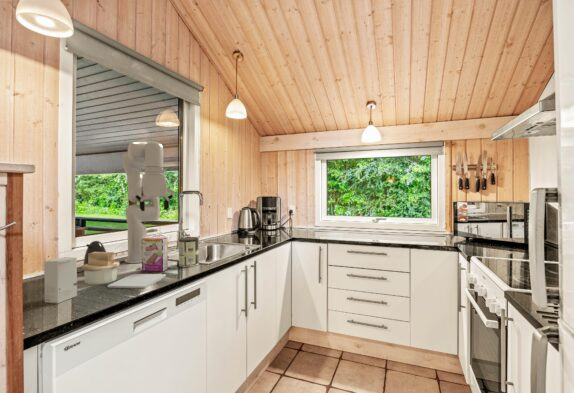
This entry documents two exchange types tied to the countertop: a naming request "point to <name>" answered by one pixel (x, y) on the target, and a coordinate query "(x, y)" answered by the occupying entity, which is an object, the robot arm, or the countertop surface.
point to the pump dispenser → (93, 249)
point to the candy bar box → (154, 254)
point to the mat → (137, 281)
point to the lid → (100, 261)
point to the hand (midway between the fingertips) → (154, 210)
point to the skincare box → (60, 279)
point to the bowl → (100, 276)
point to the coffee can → (188, 251)
